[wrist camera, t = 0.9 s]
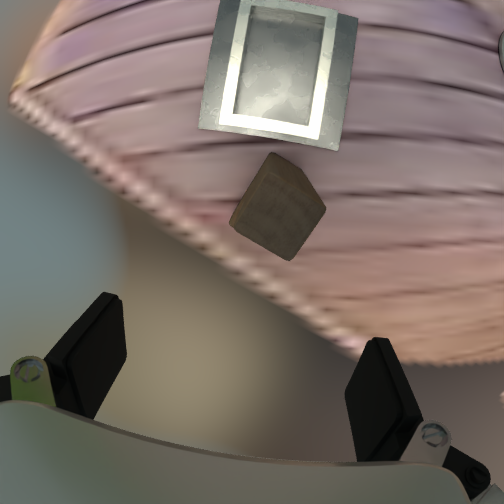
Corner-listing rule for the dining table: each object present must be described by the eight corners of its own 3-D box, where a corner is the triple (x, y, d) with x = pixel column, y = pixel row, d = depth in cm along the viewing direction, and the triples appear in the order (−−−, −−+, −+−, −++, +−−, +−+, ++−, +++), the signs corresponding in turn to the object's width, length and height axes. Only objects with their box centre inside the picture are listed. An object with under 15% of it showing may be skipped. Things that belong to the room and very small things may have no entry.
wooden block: (264, 232, 39) (254, 314, 22) (232, 214, 38) (198, 283, 22) (304, 171, 36) (329, 208, 19) (271, 150, 35) (267, 169, 18)
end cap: (356, 20, 28) (363, 11, 25) (336, 150, 34) (342, 152, 31) (222, -1, 28) (217, -12, 25) (199, 128, 34) (192, 128, 31)
